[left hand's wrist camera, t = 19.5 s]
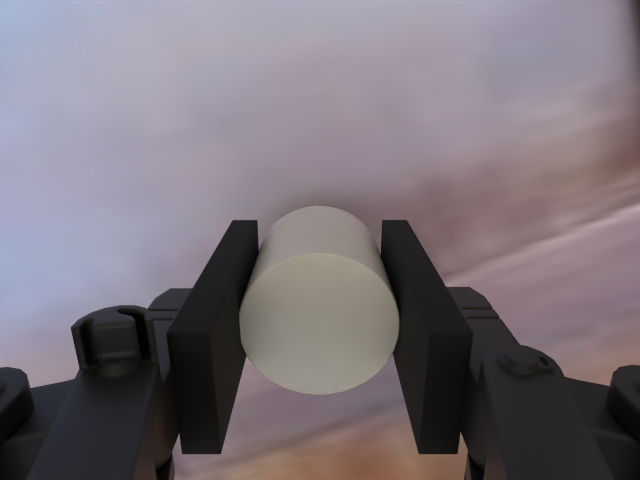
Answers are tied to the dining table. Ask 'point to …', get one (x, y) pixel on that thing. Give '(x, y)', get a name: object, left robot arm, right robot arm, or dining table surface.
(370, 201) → the dining table surface
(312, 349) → the cylinder
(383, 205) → the dining table surface
